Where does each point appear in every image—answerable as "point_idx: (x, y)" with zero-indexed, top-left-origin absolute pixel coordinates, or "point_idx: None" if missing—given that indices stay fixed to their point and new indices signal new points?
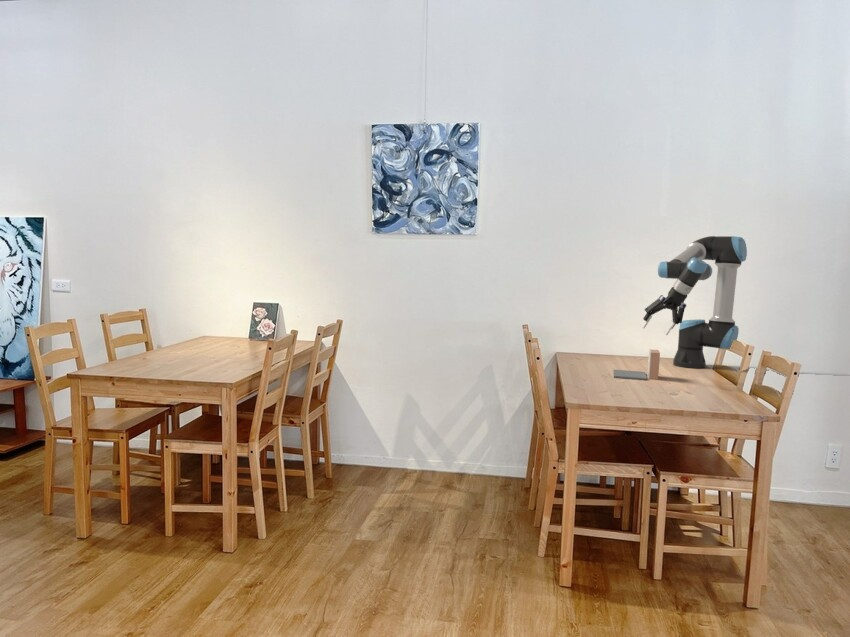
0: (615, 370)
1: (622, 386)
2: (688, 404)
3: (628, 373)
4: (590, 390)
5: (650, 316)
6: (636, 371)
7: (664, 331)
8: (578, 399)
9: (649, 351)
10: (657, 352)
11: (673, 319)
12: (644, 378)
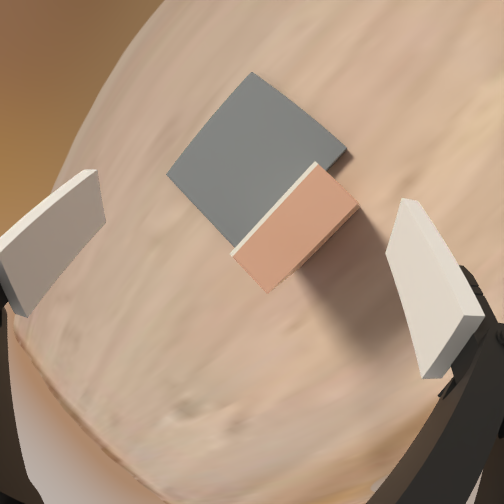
0: (245, 88)
1: (122, 282)
2: (153, 459)
3: (249, 151)
4: None
5: (16, 304)
6: (315, 128)
7: (399, 223)
8: None
9: (288, 192)
10: (270, 272)
11: (480, 356)
12: None
